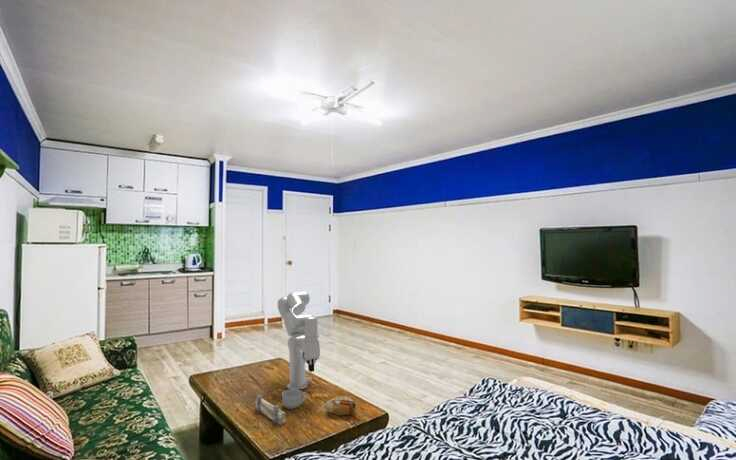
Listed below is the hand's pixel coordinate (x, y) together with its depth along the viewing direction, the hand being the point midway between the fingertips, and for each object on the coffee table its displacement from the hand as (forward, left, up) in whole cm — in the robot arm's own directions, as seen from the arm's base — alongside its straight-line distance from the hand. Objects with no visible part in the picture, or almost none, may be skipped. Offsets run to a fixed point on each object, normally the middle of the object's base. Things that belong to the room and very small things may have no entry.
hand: (311, 371), depth 212 cm
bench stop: (+26, 0, -17) cm, 31 cm away
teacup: (+11, 0, -17) cm, 20 cm away
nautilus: (-2, +27, -17) cm, 32 cm away
